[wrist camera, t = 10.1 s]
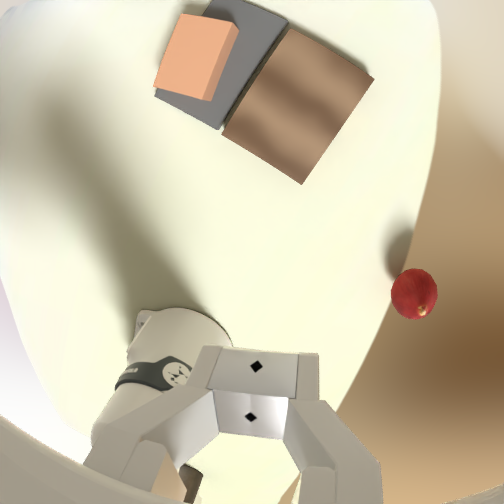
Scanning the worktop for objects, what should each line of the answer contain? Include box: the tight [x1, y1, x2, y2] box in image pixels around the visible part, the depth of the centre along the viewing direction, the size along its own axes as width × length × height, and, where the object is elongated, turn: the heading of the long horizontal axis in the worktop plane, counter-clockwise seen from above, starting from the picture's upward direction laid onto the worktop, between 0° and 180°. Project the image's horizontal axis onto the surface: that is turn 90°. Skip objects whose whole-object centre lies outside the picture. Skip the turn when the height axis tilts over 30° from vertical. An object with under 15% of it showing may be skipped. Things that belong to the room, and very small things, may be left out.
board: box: [221, 28, 374, 185], centre depth 28 cm, size 14×10×2 cm
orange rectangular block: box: [153, 14, 239, 101], centre depth 26 cm, size 9×6×3 cm, turn 160°
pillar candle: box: [178, 465, 203, 504], centre depth 63 cm, size 10×10×15 cm
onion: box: [391, 269, 438, 320], centre depth 31 cm, size 6×6×8 cm
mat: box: [155, 0, 288, 130], centre depth 28 cm, size 15×9×1 cm, turn 149°
